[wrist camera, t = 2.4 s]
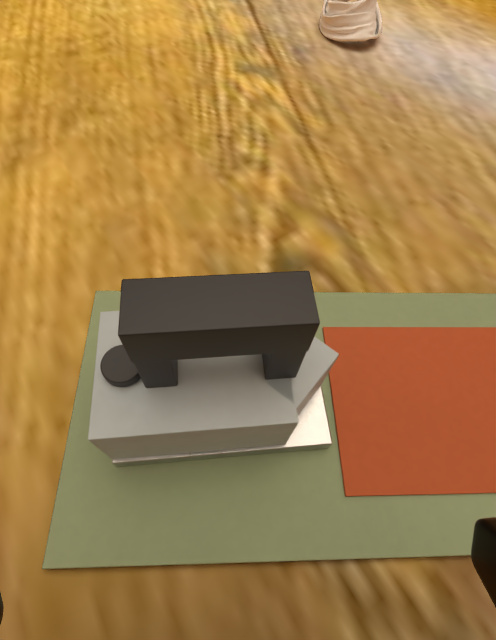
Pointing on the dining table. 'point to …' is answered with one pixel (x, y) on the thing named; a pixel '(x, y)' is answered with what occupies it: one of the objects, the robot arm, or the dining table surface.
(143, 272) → the dining table surface
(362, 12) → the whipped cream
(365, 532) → the ironing mat
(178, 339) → the iron
